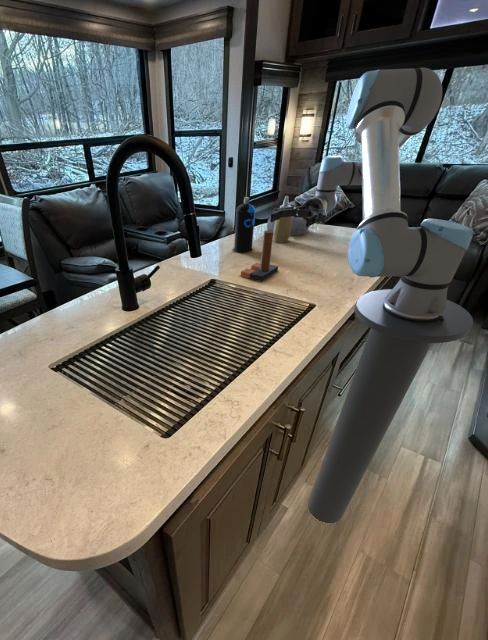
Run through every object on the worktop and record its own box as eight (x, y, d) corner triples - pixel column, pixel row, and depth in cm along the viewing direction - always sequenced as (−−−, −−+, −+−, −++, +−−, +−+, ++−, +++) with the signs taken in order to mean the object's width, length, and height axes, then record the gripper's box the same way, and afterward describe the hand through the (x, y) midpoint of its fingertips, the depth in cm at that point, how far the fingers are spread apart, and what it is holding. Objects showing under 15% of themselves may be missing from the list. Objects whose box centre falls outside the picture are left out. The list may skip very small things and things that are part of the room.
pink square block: (265, 269, 128) (265, 264, 127) (260, 272, 125) (260, 267, 124) (256, 267, 130) (256, 262, 129) (250, 270, 127) (251, 265, 126)
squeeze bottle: (288, 244, 150) (295, 198, 138) (270, 243, 152) (275, 197, 140) (290, 239, 155) (297, 194, 143) (273, 238, 158) (278, 194, 146)
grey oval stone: (262, 232, 165) (300, 238, 155) (264, 213, 160) (304, 218, 150) (277, 225, 174) (314, 230, 164) (279, 207, 168) (317, 211, 159)
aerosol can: (229, 250, 146) (232, 198, 133) (240, 245, 151) (243, 194, 137) (245, 254, 142) (249, 200, 129) (256, 249, 146) (260, 196, 133)
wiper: (277, 271, 126) (283, 228, 116) (261, 281, 119) (266, 236, 109) (266, 268, 128) (270, 226, 118) (249, 278, 121) (253, 234, 111)
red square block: (255, 275, 124) (255, 270, 122) (249, 278, 121) (250, 273, 120) (246, 273, 126) (246, 268, 124) (240, 276, 123) (240, 271, 122)
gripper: (343, 223, 125) (321, 236, 113) (282, 215, 137) (256, 227, 125) (348, 200, 120) (326, 212, 108) (285, 194, 133) (258, 204, 120)
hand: (288, 220), depth 117 cm, fingers open, 13 cm apart
